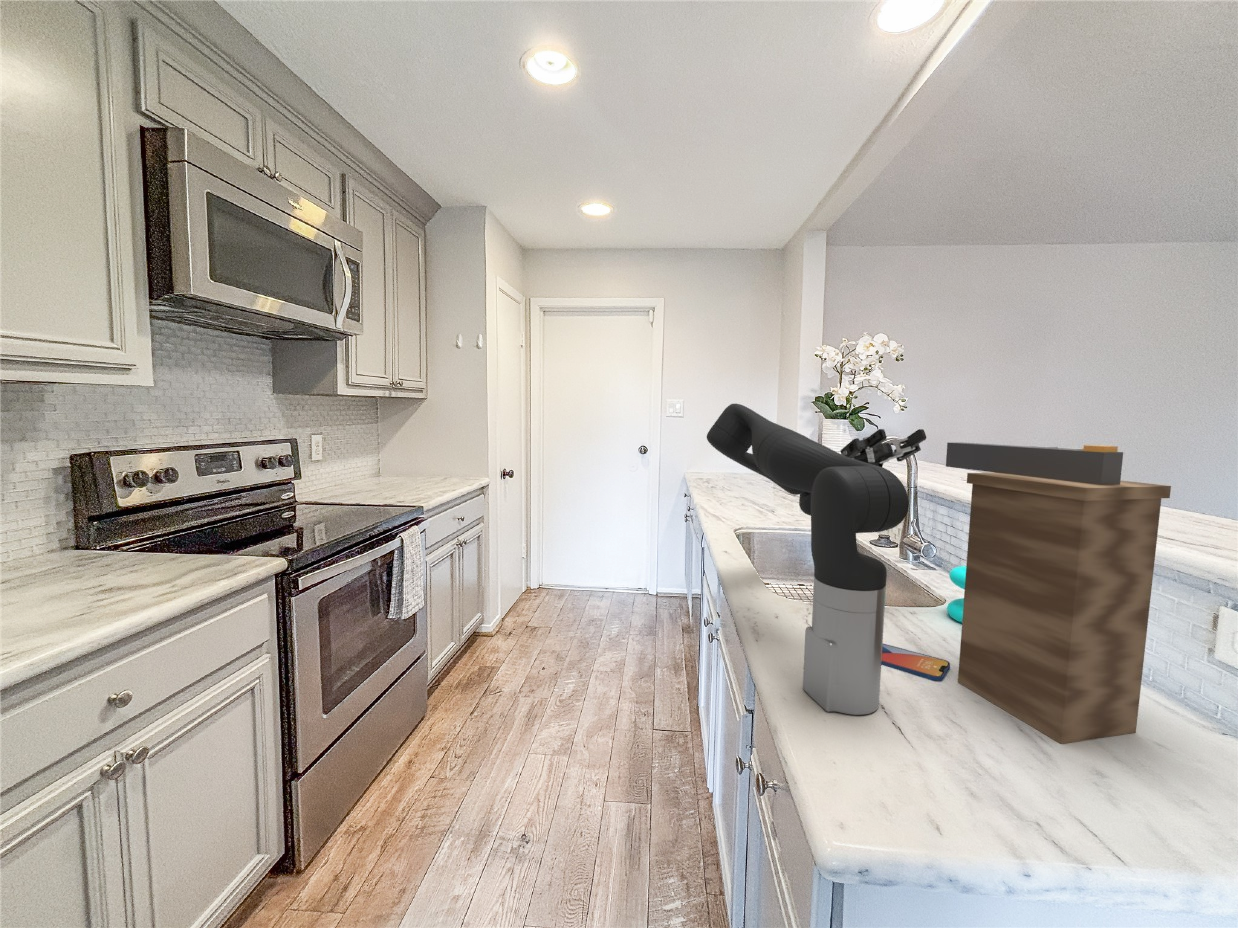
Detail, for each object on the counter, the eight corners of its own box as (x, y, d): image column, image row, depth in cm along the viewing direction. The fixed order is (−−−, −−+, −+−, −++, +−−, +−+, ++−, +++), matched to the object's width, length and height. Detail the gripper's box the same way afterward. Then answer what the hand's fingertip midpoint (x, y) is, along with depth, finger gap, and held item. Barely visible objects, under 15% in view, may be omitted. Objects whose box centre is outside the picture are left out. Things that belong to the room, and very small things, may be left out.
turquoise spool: (1011, 583, 94) (946, 572, 100) (1006, 635, 95) (943, 621, 101) (1012, 570, 102) (953, 561, 108) (1008, 619, 102) (949, 607, 109)
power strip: (1100, 484, 63) (1104, 446, 62) (945, 466, 85) (947, 438, 85) (1120, 484, 63) (1123, 446, 63) (960, 466, 86) (962, 438, 85)
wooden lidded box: (1061, 746, 63) (1086, 488, 60) (952, 680, 78) (967, 472, 75) (1143, 734, 65) (1171, 485, 62) (1021, 672, 81) (1039, 471, 78)
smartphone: (854, 641, 93) (854, 635, 93) (951, 667, 83) (951, 661, 83) (839, 654, 88) (839, 649, 88) (940, 685, 78) (941, 678, 77)
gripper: (820, 452, 111) (865, 415, 97) (878, 451, 114) (930, 416, 99) (828, 484, 108) (876, 451, 94) (887, 483, 111) (943, 451, 96)
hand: (904, 433), depth 96 cm, fingers open, 8 cm apart
